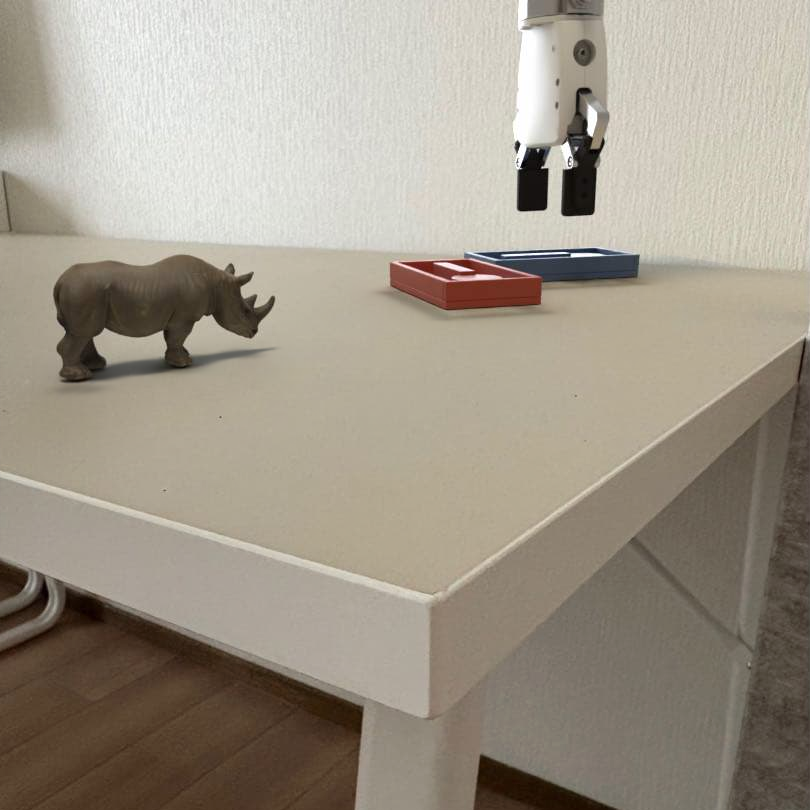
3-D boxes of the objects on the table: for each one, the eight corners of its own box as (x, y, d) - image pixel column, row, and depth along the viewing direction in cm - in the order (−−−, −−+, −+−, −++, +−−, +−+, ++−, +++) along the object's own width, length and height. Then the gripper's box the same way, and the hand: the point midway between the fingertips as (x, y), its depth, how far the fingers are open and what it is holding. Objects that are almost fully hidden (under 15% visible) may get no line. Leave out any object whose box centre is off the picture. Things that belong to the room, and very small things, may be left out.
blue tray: (596, 267, 94) (598, 247, 93) (638, 276, 86) (640, 254, 86) (463, 273, 89) (463, 252, 89) (495, 284, 82) (496, 260, 81)
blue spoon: (511, 273, 84) (512, 257, 84) (494, 269, 88) (494, 253, 87) (613, 268, 87) (614, 253, 87) (592, 264, 91) (593, 249, 91)
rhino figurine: (296, 353, 54) (290, 250, 51) (68, 385, 47) (48, 267, 44) (265, 342, 57) (258, 245, 55) (46, 371, 50) (27, 260, 47)
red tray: (389, 285, 82) (389, 261, 81) (471, 281, 84) (472, 258, 83) (445, 309, 69) (446, 281, 68) (541, 304, 71) (542, 277, 70)
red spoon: (418, 280, 80) (418, 263, 80) (461, 278, 81) (461, 261, 81) (461, 297, 71) (462, 277, 70) (509, 294, 72) (510, 275, 71)
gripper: (651, -7, 72) (635, 215, 79) (555, 23, 87) (548, 207, 94) (568, -9, 70) (559, 220, 77) (484, 22, 85) (483, 211, 92)
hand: (553, 213), depth 85 cm, fingers open, 9 cm apart
